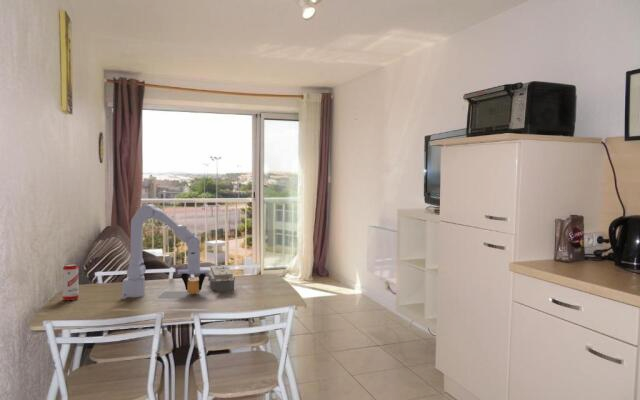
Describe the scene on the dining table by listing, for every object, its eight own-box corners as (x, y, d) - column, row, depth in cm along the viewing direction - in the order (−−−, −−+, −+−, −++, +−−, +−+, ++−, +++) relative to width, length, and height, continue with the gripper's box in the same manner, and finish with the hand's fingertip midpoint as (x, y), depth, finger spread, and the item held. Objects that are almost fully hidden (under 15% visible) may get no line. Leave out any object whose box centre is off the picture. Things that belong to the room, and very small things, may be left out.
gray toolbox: (228, 280, 245) (228, 262, 244) (237, 296, 219) (237, 276, 217) (206, 281, 241) (206, 263, 240) (212, 298, 215) (212, 278, 213)
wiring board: (157, 300, 205) (157, 289, 205) (164, 293, 217) (164, 283, 217) (205, 300, 206) (205, 289, 206) (210, 293, 218) (210, 283, 218)
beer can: (81, 298, 205) (81, 264, 205) (69, 302, 200) (68, 266, 199) (72, 297, 208) (72, 263, 207) (59, 300, 202) (59, 265, 202)
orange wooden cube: (186, 293, 210) (186, 281, 209) (189, 290, 215) (189, 279, 215) (198, 293, 210) (198, 282, 210) (200, 290, 216) (200, 279, 215)
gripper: (175, 262, 208) (175, 291, 208) (207, 262, 208) (207, 291, 209) (179, 259, 215) (179, 288, 215) (210, 260, 215) (210, 288, 216)
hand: (193, 289), depth 213 cm, fingers closed on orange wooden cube, 5 cm apart
